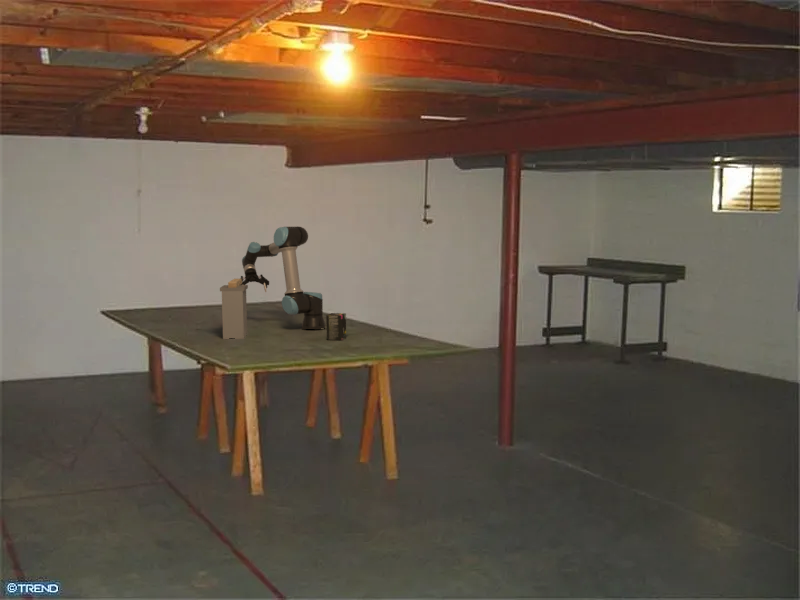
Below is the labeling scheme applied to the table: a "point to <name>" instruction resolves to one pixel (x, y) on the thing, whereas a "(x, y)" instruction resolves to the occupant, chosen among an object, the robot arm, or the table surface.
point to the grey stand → (234, 312)
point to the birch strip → (234, 283)
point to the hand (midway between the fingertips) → (254, 291)
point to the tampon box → (336, 326)
